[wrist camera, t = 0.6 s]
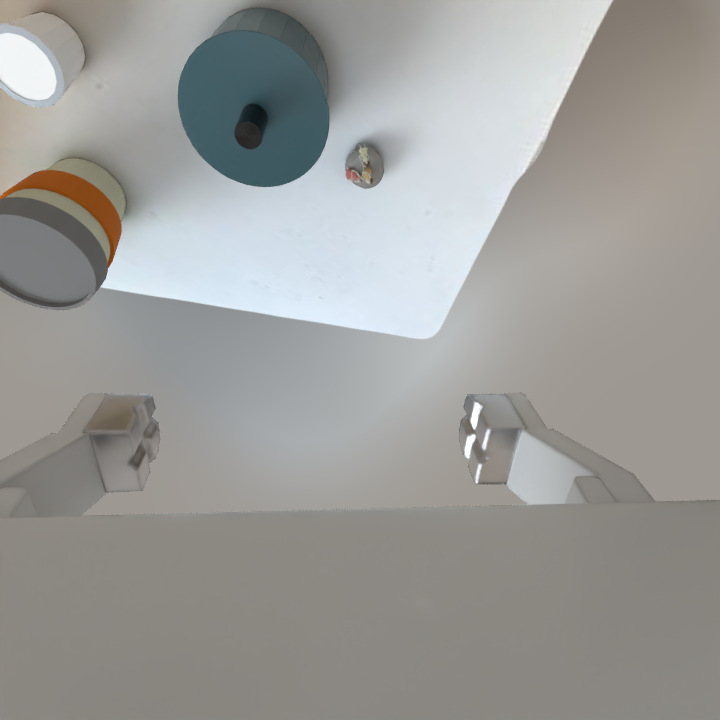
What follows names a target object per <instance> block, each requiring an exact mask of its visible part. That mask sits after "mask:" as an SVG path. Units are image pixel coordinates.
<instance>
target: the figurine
mask: <svg viewBox="0 0 720 720" xmlns="http://www.w3.org/2000/svg"><path fill="white" fill-rule="evenodd" d="M356 148H357V149H355V150H354V151H353V152H352V153H351V154H350V155H349V156H348V158H347V161H346V164H345V169H346V176H347V179H349V180H351V181H352V182H353V183H354V184H355V185H357V186H359V187H362V188H365V189H367V188H372V187H374V186H376V185H377V184H378V183H379V182H380V181H381V179H382V177H383V173H384V167H383V163H382V160H381V157H380V155H379V153H378V152H377V151H375V150H374V149H373V148H372V147H370V146H368V145H367V144H365V143H359V144H358V145H357V146H356Z"/></svg>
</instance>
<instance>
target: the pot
mask: <svg viewBox="0 0 720 720" xmlns="http://www.w3.org/2000/svg"><path fill="white" fill-rule="evenodd" d="M234 29H250V30H257V31H261V32H265V33H268V34H271V35H273V36H276V37H278V38H279V39H281V40H283V41H285V42H287V43H288V44H289V45H291V46H292V47H293V48H295V49H296V50H297V51H298V52H299V53H300V54H301V55H302V56H303V57H304V58H305V59H306V60H307V61H308V62H309V64H310V65H311V66H312V68H313V69H314V71H315V72H316V74H317V75H318V77H319V79H320V81H321V83H322V86H323V88H324V91H325V94H326V97H327V99H328V73H327V68H326V63H325V60H324V57H323V54H322V52H321V50H320V48H319V46H318V44H317V43H316V41H315V40H314V38H313V37H312V36H311V34H310V33H309V32H308V31H307V30H306V29H305V28H304V27H303V26H302V25H301V24H300V23H299V22H297V21H296V20H295V19H293V18H292V17H290V16H288V15H286V14H284V13H282V12H279V11H276V10H272V9H267V8H251V9H247V10H243V11H240V12H238V13H236V14H234V15H232V16H230V17H229V18H228V19H227V20H226V21H224V22H223V23H222V25H221V26H220V27H219V28H218V29H217V30H216V31H215V32H214V34H213V35H212V36H214V35H216V34H219V33H221V32H224V31H229V30H234ZM212 36H211V37H212Z"/></svg>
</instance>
